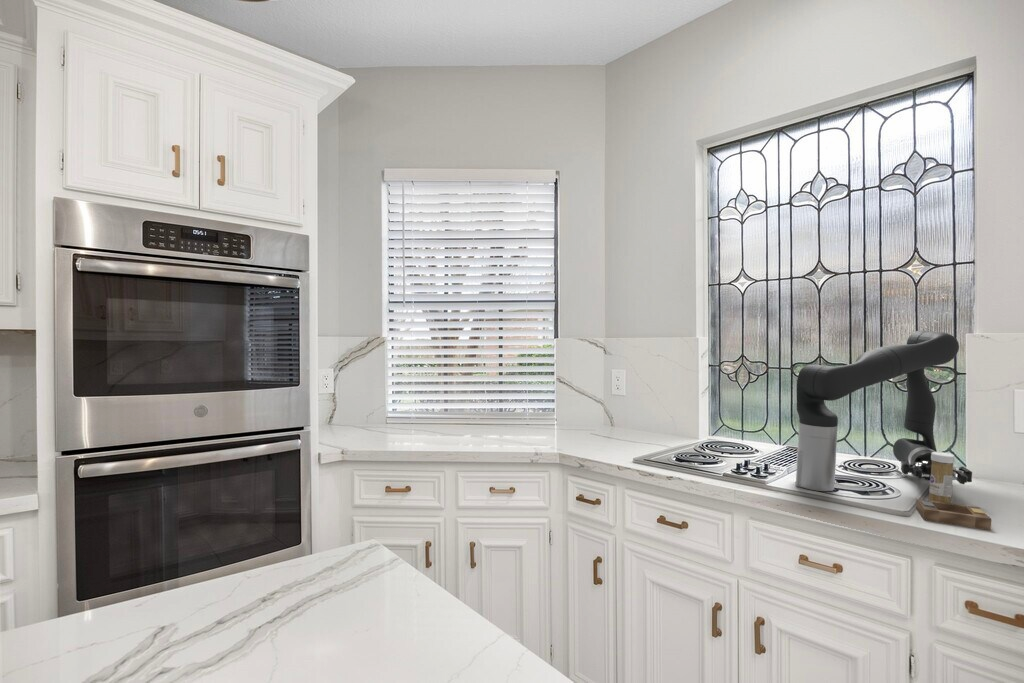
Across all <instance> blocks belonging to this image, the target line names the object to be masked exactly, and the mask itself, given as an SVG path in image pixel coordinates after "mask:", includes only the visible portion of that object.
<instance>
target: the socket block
mask: <svg viewBox="0 0 1024 683" xmlns="http://www.w3.org/2000/svg"><path fill="white" fill-rule="evenodd" d="M921 501H926V502H932V503H933V505H934V506H935V507H928V506H924V505H923V504H922V503H921ZM915 502H916V504H915V505H916V507H915V510H916V511H917V512H918V513H919V515H920V516H921V518H922V520H924V521H927V522H928V521H929V522H935V523H942V524H948V525H953V526H962V527H968V528H974V529H981V530H988V531H991V530H992V518H991V517H990V516H989V515H988V514H987V513H986V512H985V511H984V510H983V509H981V507H978V506H973V505H965V504H958V503H952V502H951V503H945V502H938V501H931V500H929V499H922V498H916V501H915ZM970 508H975V509H981V510H982V511H983V512H984V513H985V515H984V514H977V513H973V512H972V511H971V510H970Z"/></svg>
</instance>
